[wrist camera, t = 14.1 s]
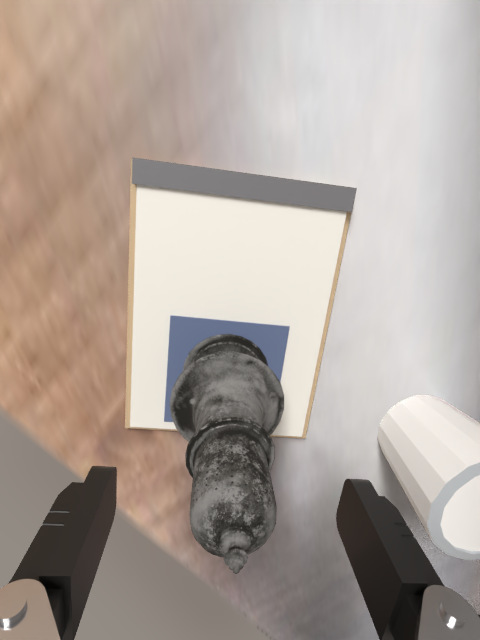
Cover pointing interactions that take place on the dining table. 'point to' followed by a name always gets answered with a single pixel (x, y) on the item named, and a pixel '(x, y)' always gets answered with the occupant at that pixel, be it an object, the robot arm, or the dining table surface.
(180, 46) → the dining table surface
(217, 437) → the dark grey chess bishop
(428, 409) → the shot glass
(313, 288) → the order pad
